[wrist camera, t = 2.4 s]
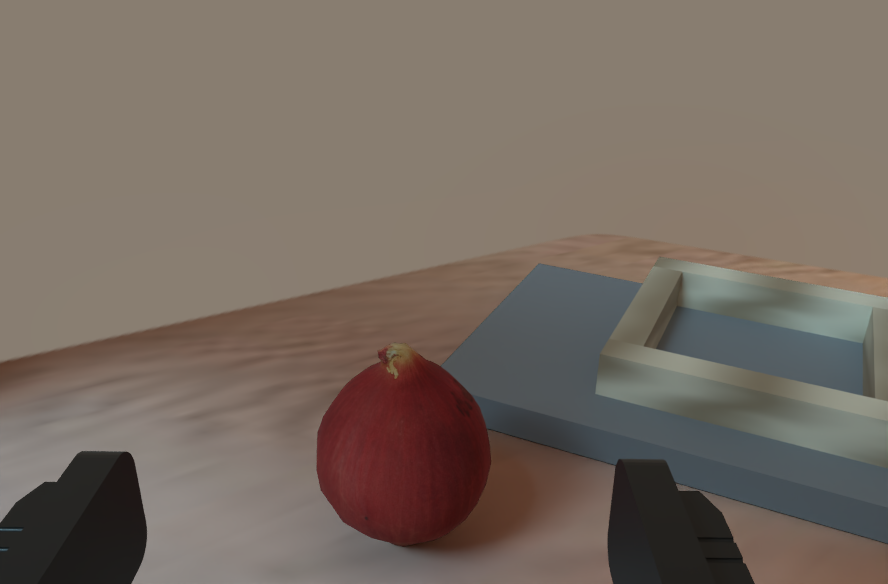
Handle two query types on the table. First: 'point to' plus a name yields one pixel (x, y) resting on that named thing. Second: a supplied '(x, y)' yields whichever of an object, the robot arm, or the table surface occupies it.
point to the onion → (403, 450)
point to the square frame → (744, 391)
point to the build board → (653, 431)
